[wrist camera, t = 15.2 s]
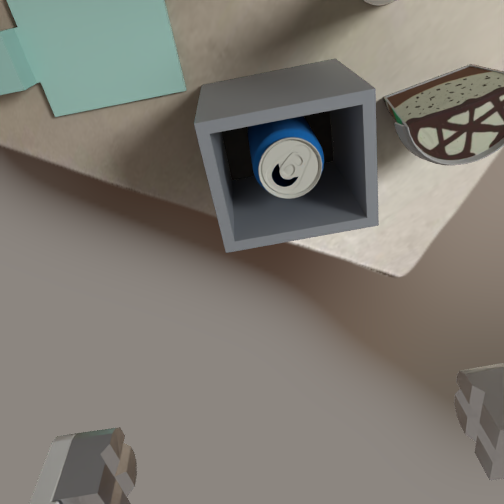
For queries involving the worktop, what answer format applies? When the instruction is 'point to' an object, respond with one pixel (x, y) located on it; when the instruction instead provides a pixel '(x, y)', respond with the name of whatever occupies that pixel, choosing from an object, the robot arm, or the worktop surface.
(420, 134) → the food container
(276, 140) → the beverage can
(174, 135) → the worktop surface
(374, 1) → the cosmetic bottle
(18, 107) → the worktop surface
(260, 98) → the tub
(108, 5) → the lid
